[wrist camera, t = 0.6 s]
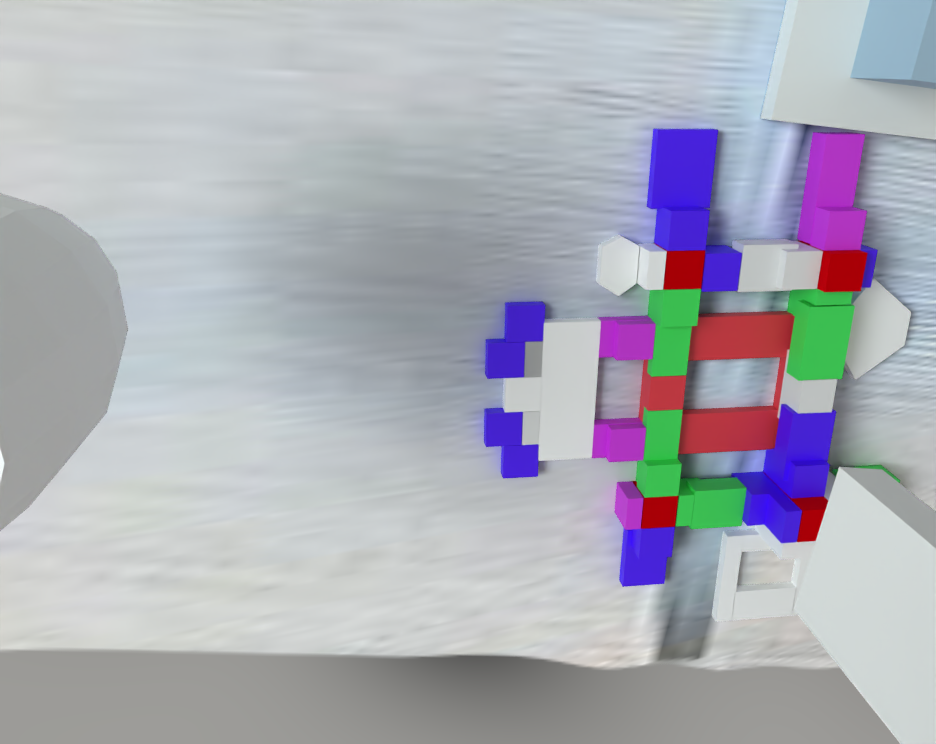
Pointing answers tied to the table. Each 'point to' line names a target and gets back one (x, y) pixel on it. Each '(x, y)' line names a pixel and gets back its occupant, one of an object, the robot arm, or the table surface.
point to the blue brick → (898, 43)
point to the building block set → (708, 338)
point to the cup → (51, 346)
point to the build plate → (838, 76)
